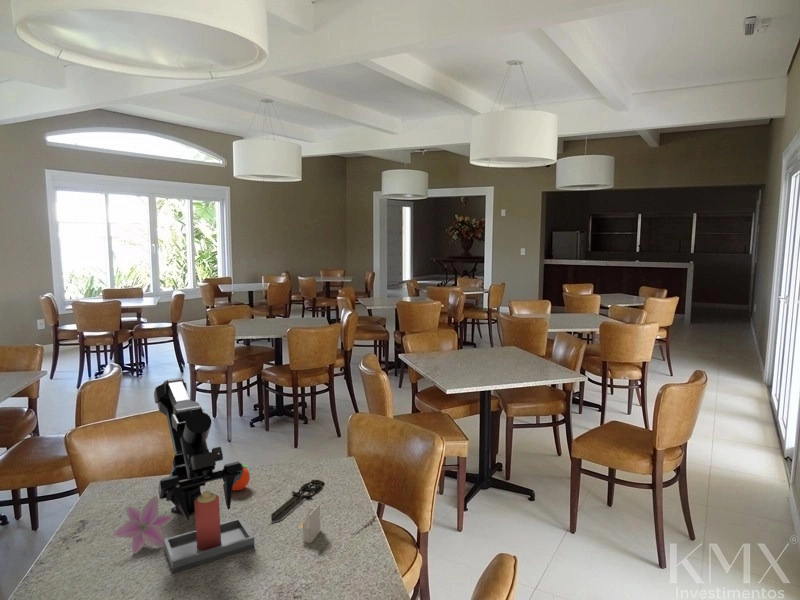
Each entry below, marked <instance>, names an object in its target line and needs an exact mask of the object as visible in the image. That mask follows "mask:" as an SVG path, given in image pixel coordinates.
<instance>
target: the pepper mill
mask: <svg viewBox="0 0 800 600" xmlns="http://www.w3.org/2000/svg"><path fill="white" fill-rule="evenodd" d="M194 504H195V512H194V516H195V518H194V519H195V530H196V540H197V548H198V549H199V550H204V551H205V550H208V549H211V548H215V547H218V546H219V545H220V544H221V529H220V523H221V513H220V512H221V511H220V509H221V508H220V497H219V495H217V494H215V493H213V492H210V491H209V490H205V491H203V492H202V493H201V495H200V496H199V497H198V498H196V499H195V501H194Z"/></svg>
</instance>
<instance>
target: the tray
mask: <svg viewBox="0 0 800 600" xmlns="http://www.w3.org/2000/svg"><path fill="white" fill-rule="evenodd" d="M220 529H221V544H220V545H219V546H218V547H215V548H211V549H208V550H205V551H204V550H199V549H198V548H197V540H196V529H195V530H192V531H191V530H190V531H187V532H184V533H181V534H177V535H173V536H170V537H166V538H165V539H164V547H163V549H164V552H165V555H166V557H167V560H168V564H169V565H170V568H171V571H172V574H175V573H177V572H181V571H184V570H187V569H191V568H193V567H197V566H200V565H203V564H206V563H209V562H213V561H216V560H219V559H222V558H225V557H229V556H232V555H235V554H238V553H242V552H244V551H247V550H251V549H254V548H255V537H254V535H253V534H252V532H251V531H250V529H249V528H248V527H247V525H246V524H245V522H244V521H243V519H242V518H241V517H238V518H233V519H230V520H228V521H224V522H220Z"/></svg>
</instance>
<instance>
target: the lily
mask: <svg viewBox="0 0 800 600" xmlns="http://www.w3.org/2000/svg"><path fill="white" fill-rule="evenodd" d="M159 509H160V506H159V496H157V495H154V496H153V497H151V499H150V500H149V501H148V502H147V503H146V504H145V505H144V506H143V508H142V509H141V510H140V509H138V508H136V507H133V506H129V505H128V506H126V507H125V510H126V514H127V517H128V520H129V521H126V522H125V523H123V524H122V525H121V526H119V527H118V528H117V529H115V530H114V531H113V532H112V533H111V535H112V537H114V538H122V539H132V540H131V541H132V543H131V548H132V549H131V550H132V554H133V555H135V554H137V553H138V551H140V549H141V548H142V547H143V546H144V545H145V543H146V542H147V543H149V544H152V545H155V546H157V547H161V548H164V539H166V538H165V534H164V532H163V529H162V528H163V527H164V526H165V525H167V524H169V522H171V521H172V520H173V519H174V518H173V516H171V515H167V514H166V515H165V514H159V512H160V511H159Z"/></svg>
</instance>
